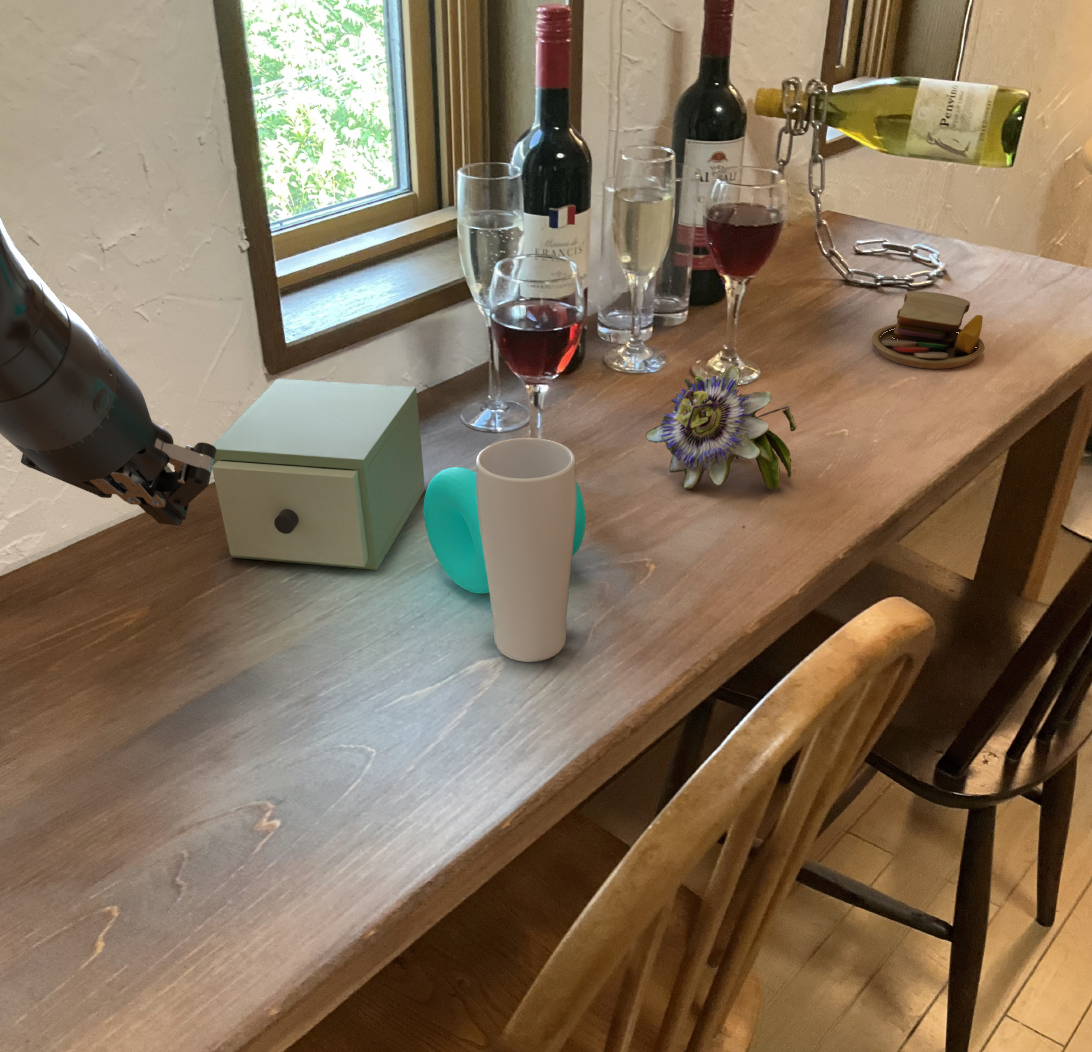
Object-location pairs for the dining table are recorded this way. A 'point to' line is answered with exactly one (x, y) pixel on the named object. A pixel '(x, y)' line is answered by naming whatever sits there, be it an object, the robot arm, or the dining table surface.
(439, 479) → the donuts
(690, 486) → the passion flower
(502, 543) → the drinking glass
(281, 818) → the dining table surface
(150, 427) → the robot arm
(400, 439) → the cabinet
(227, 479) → the drawer
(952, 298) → the toy sandwich meal
